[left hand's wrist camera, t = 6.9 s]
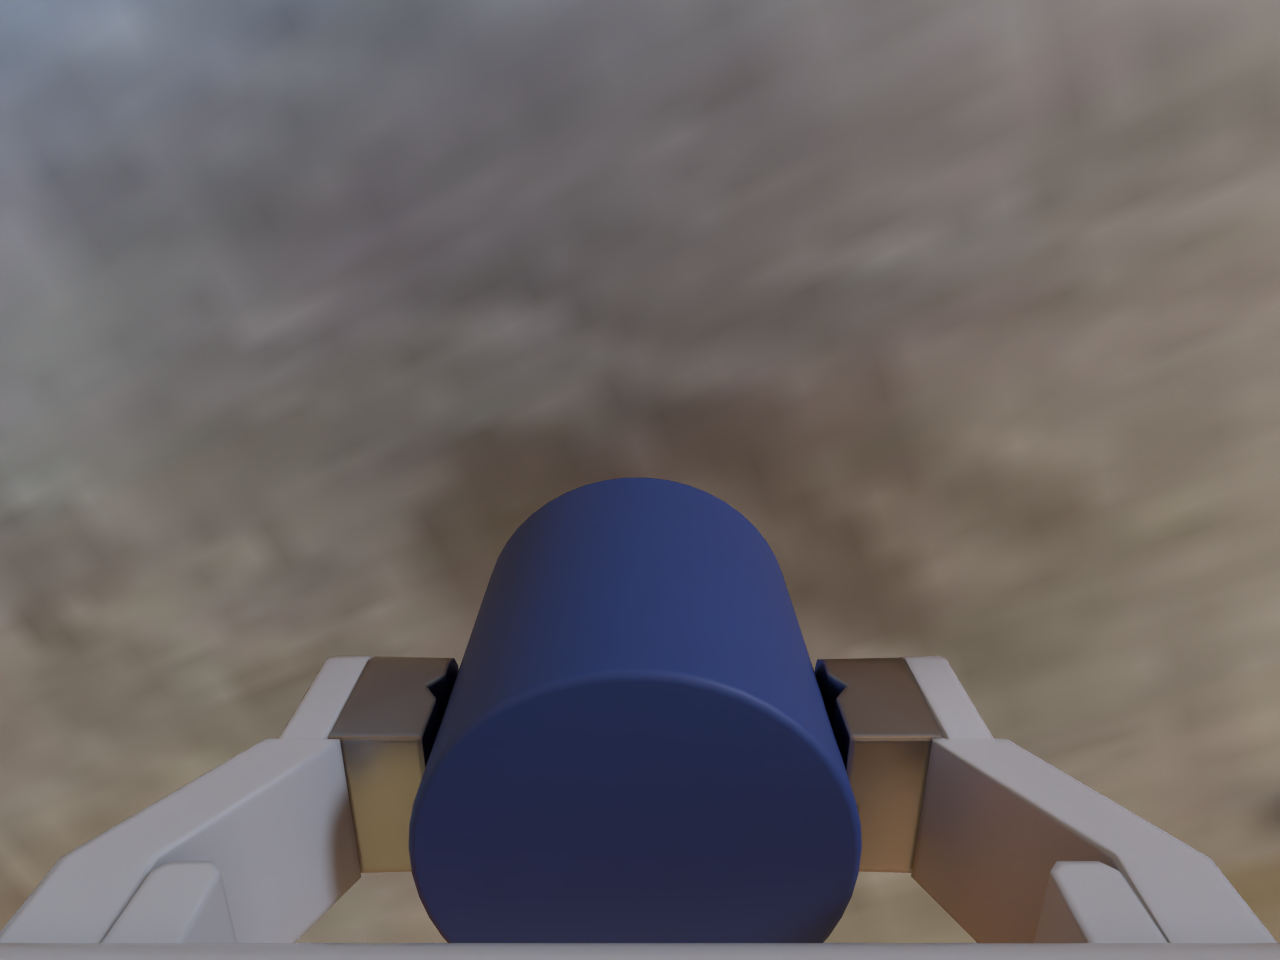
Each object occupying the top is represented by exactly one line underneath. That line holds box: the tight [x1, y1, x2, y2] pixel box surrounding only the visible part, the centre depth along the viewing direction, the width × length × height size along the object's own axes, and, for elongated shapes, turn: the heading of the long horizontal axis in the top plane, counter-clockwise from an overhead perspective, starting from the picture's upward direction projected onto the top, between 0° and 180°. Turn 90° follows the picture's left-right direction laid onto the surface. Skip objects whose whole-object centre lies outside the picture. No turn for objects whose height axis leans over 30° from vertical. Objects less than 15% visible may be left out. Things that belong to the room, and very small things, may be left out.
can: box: [408, 478, 862, 943], centre depth 11 cm, size 4×4×5 cm
